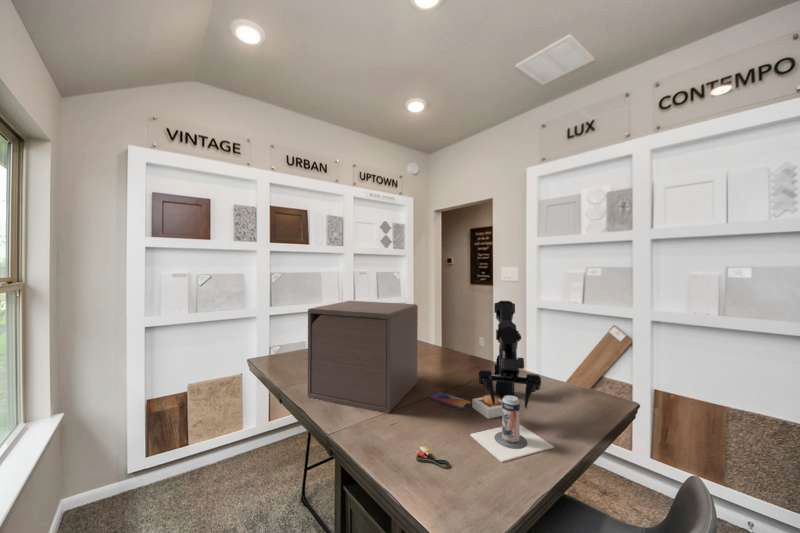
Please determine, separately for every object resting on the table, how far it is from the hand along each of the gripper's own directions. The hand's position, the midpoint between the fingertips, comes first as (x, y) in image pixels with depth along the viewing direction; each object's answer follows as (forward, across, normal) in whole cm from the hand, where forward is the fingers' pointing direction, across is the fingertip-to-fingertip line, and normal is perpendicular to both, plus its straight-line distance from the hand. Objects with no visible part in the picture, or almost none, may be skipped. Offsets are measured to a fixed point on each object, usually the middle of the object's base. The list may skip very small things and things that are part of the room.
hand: (509, 406), depth 97 cm
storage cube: (-6, -54, +18) cm, 57 cm away
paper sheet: (+10, 0, +2) cm, 10 cm away
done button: (-5, -5, +13) cm, 15 cm away
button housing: (-4, -6, +15) cm, 16 cm away
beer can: (+9, 0, +1) cm, 9 cm away
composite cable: (+21, -20, -9) cm, 31 cm away
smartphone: (-6, -20, +18) cm, 28 cm away
